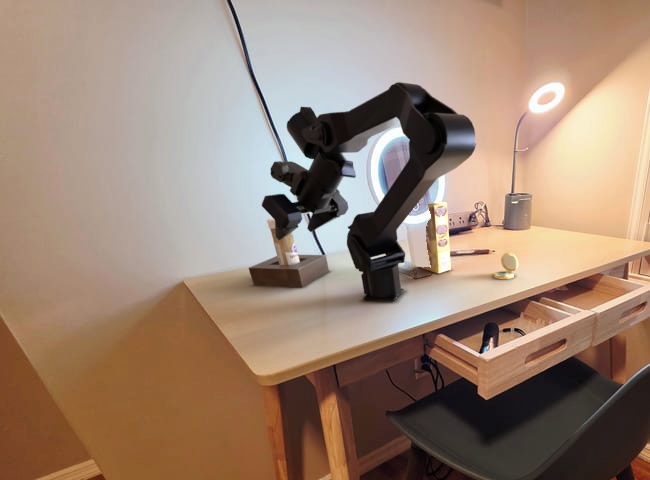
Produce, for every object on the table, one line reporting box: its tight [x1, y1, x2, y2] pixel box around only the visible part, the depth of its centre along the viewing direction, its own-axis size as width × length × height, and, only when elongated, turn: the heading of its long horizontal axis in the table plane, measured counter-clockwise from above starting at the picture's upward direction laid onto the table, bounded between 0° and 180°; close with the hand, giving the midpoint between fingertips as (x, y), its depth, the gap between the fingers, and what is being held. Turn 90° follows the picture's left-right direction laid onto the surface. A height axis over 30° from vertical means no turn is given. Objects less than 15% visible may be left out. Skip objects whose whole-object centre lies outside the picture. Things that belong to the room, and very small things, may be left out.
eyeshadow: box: [493, 252, 519, 280], centre depth 84 cm, size 4×5×5 cm
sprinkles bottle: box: [266, 217, 300, 265], centre depth 84 cm, size 5×5×13 cm
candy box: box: [422, 201, 451, 274], centre depth 88 cm, size 9×4×15 cm, turn 44°
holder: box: [248, 254, 330, 288], centre depth 86 cm, size 12×12×4 cm
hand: (294, 234), depth 81 cm, fingers open, 9 cm apart
